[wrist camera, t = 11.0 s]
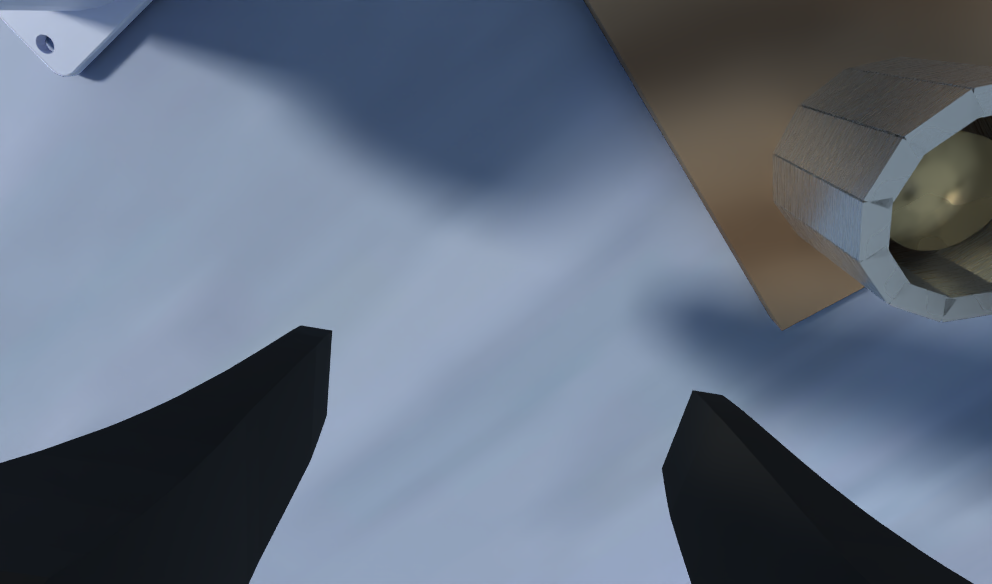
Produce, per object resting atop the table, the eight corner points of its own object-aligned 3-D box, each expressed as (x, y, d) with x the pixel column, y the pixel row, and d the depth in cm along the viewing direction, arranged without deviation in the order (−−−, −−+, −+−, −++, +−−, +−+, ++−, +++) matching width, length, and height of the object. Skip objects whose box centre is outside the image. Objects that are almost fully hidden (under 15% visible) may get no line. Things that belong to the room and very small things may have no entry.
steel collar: (772, 83, 17) (868, 109, 12) (980, 40, 16) (1163, 50, 12) (772, 260, 19) (854, 336, 15) (954, 228, 18) (1098, 297, 14)
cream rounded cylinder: (799, 150, 18) (862, 180, 14) (898, 89, 17) (989, 107, 14) (837, 227, 19) (905, 271, 15) (932, 173, 18) (1024, 208, 15)
